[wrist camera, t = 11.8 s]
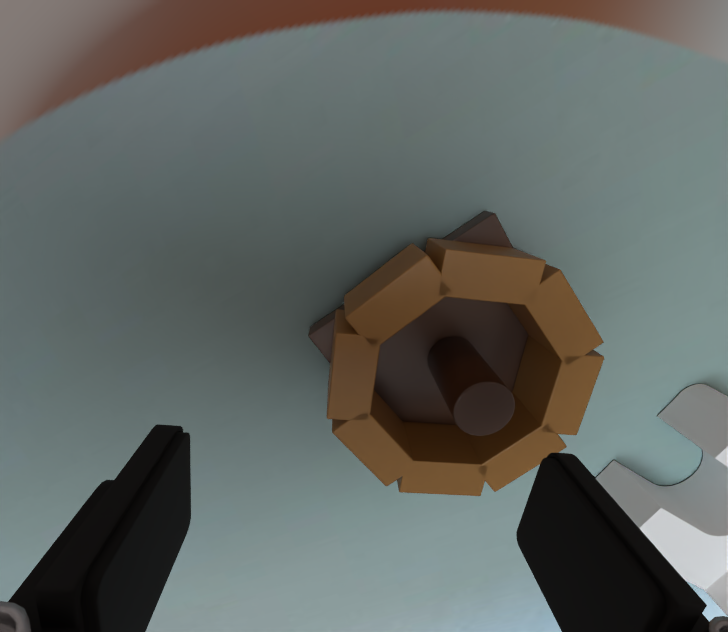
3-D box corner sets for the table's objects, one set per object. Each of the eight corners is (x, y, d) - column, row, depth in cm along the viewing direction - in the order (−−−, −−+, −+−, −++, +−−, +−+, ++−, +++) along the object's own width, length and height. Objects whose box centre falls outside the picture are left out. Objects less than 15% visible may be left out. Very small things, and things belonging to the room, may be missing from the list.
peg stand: (309, 326, 19) (298, 383, 14) (484, 210, 18) (549, 222, 12) (412, 458, 22) (437, 547, 17) (568, 368, 21) (649, 433, 15)
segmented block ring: (282, 343, 18) (272, 373, 15) (481, 187, 16) (512, 188, 13) (418, 485, 21) (431, 532, 18) (596, 369, 19) (640, 401, 17)
